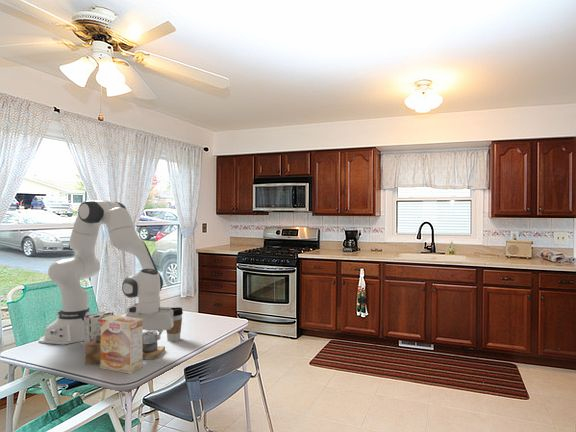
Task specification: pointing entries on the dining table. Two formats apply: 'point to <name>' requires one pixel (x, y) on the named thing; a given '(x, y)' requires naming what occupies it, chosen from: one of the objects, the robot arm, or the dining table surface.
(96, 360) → the stand
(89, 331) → the candy bar box
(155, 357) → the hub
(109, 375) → the dining table surface
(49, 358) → the dining table surface
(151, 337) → the faceted octagonal planter
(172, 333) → the coffee cup
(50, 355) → the dining table surface
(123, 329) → the coffeecake box
